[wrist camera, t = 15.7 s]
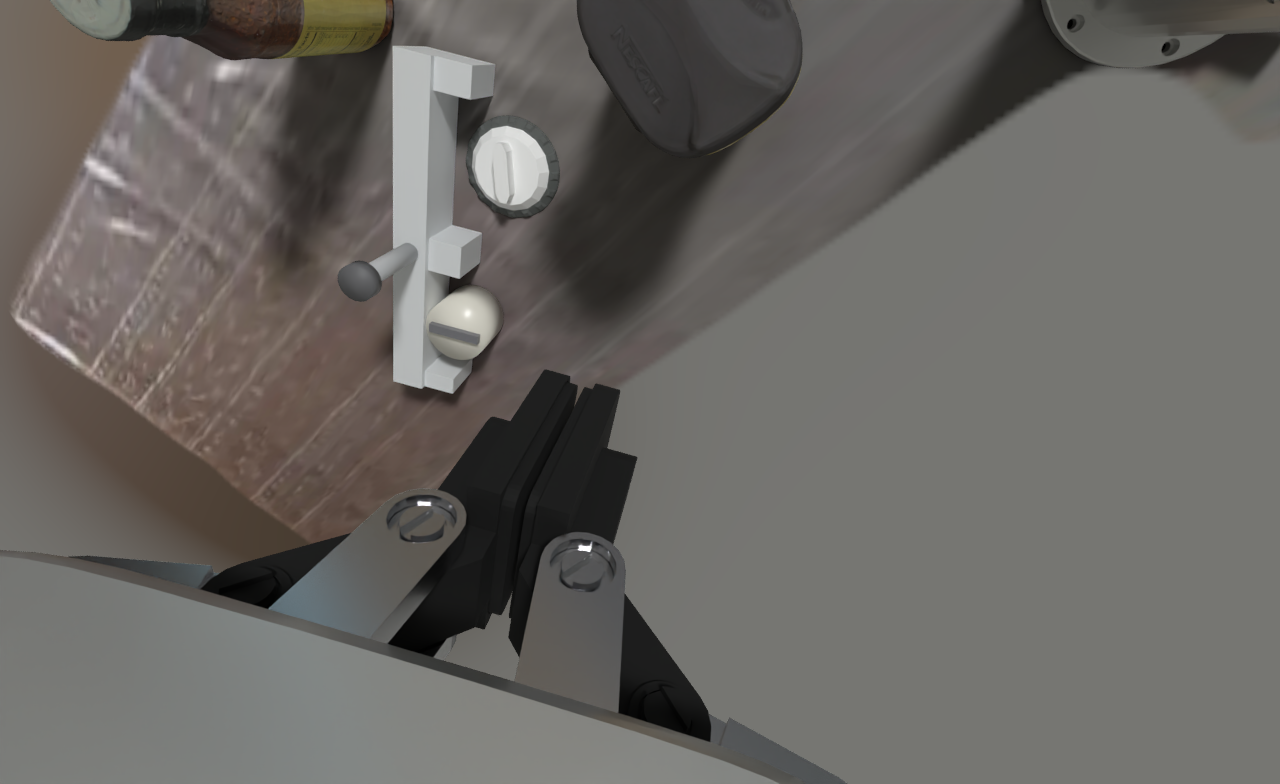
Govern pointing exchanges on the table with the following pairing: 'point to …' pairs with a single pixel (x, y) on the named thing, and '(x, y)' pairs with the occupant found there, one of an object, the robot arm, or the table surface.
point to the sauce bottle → (240, 24)
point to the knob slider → (465, 322)
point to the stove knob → (513, 166)
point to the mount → (424, 210)
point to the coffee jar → (695, 66)
